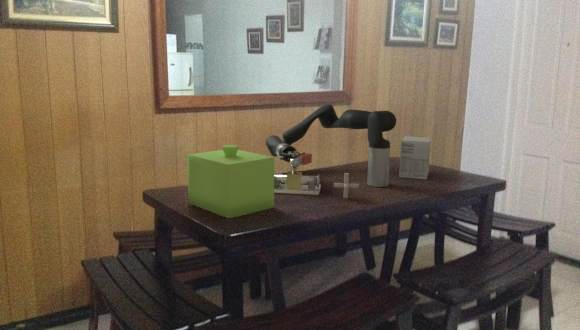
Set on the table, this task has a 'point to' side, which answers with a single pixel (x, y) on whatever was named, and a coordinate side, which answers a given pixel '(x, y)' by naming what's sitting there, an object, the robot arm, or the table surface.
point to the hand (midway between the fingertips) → (300, 160)
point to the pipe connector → (346, 185)
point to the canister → (231, 181)
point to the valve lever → (301, 160)
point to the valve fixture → (296, 183)
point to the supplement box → (414, 157)
